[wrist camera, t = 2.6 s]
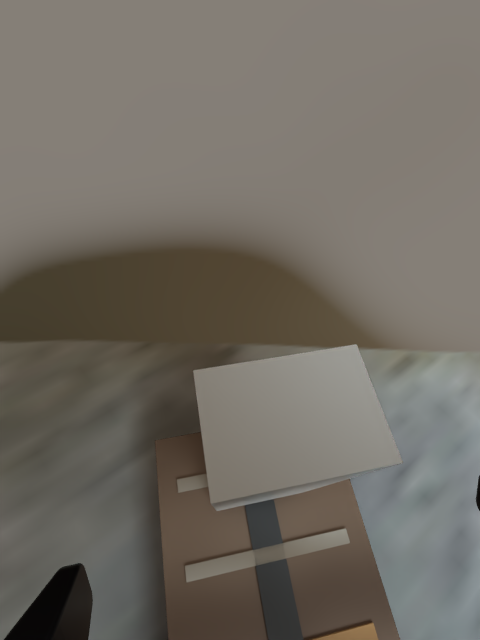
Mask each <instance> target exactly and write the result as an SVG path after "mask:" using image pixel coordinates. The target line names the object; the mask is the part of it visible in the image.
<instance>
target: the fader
mask: <svg viewBox="0 0 480 640" xmlns="http://www.w3.org/2000/svg"><path fill="white" fill-rule="evenodd" d="M193 373H194V381H195V388H196V396H197V403H198V411H199V419H200V426H201V434H202V441H203V449H204V457H205V464H206V472H207V479H208V487H209V495H210V502H211V505H212V506H213V507H214V508H215V510H216V511H220V510H225V509H229V508H234V507H238V506H243V505H248V504H252V503H257V502H262V501H266V500H271V499H276V498H280V497H285V496H289V495H294V494H299V493H303V492H306V491H310V490H313V489H316V488H320V487H323V486H327V485H330V484H333V483H337V482H340V481H343V480H347V479H350V478H353V477H357V476H360V475H364V474H367V473H370V472H374V471H377V470H380V469H384V468H387V467H391V466H394V465H397V464H401V463H403V461H402V459H401V456H400V454H399V451H398V449H397V446H396V443H395V441H394V438H393V436H392V433H391V431H390V428H389V426H388V423H387V421H386V418H385V415H384V413H383V410H382V408H381V405H380V403H379V400H378V398H377V395H376V392H375V390H374V387H373V385H372V382H371V380H370V377H369V375H368V372H367V369H366V367H365V364H364V362H363V359H362V357H361V354H360V352H359V349H358V347H357V345H349V346H343V347H337V348H330V349H324V350H318V351H312V352H305V353H299V354H293V355H287V356H280V357H274V358H268V359H262V360H255V361H249V362H243V363H236V364H230V365H224V366H218V367H211V368H205V369H199V370H193Z"/></svg>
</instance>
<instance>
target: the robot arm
mask: <svg viewBox="0 0 480 640" xmlns="http://www.w3.org/2000/svg"><path fill="white" fill-rule="evenodd" d="M476 503H477V506H478V509H479V511H480V476H479V479H478V488H477V496H476ZM92 601H93V599H92V591H91V587H90V584H89V580H88V577H87V574H86V570H85V568H84V566H83V564H81V563H78V564H73V565H69V566H65V567H62V568H60V569H59V570H58V571H57V572H56V574H55V575H54V576H53V577H52V579H51V580H50V581H49V582H48V584H47V585H46V586H45V588H44V589H43V590H42V591H41V593H40V594H39V595H38V597H37V598H36V599H35V600H34V602H33V603H32V604H31V606H30V607H29V608H28V609H27V611H26V612H25V613H24V614H23V616H22V617H21V618H20V620H19V621H18V622H17V623H16V625H15V626H14V627H13V629H12V630H11V631H10V632H9V634H8V635H7V636H6V638H5V639H4V640H88V636H89V628H90V620H91V612H92Z"/></svg>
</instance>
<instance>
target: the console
mask: <svg viewBox="0 0 480 640" xmlns="http://www.w3.org/2000/svg"><path fill="white" fill-rule="evenodd" d="M155 448H156V463H157V478H158V493H159V508H160V523H161V537H162V552H163V567H164V582H165V597H166V612H167V626H168V640H400V638H399V634H398V631H397V628H396V625H395V622H394V618H393V615H392V612H391V609H390V606H389V603H388V599H387V596H386V593H385V590H384V587H383V584H382V580H381V577H380V574H379V571H378V568H377V565H376V561H375V558H374V555H373V552H372V549H371V545H370V542H369V539H368V536H367V533H366V530H365V526H364V523H363V520H362V517H361V514H360V511H359V507H358V504H357V501H356V498H355V495H354V491H353V488H352V485H351V482H350V479H347V480H343V481H340V482H337V483H333V484H330V485H327V486H323V487H320V488H316V489H313V490H310V491H306V492H303V493H299V494H294V495H289V496H285V497H280V498H276V499H271V500H266V501H262V502H257V503H252V504H248V505H243V506H238V507H234V508H229V509H225V510H220V511H216V510H215V508H214V507H213V506H212V505H211V502H210V495H209V487H208V479H207V472H206V464H205V457H204V449H203V441H202V434H201V432H198V433H193V434H187V435H182V436H176V437H171V438H166V439H160V440H155Z"/></svg>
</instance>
